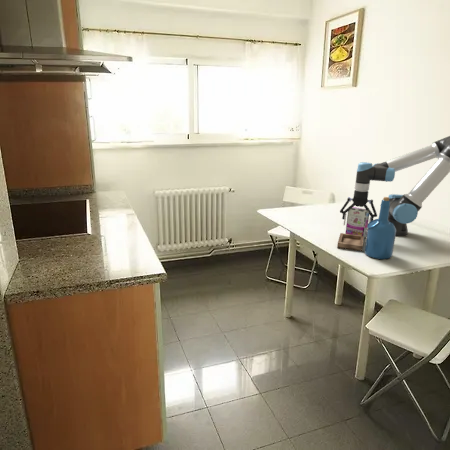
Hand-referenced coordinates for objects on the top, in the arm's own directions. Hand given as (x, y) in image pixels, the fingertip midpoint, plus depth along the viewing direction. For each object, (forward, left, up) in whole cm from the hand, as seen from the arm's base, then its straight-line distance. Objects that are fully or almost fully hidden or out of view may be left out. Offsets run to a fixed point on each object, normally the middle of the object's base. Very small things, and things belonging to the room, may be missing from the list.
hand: (356, 226), depth 221 cm
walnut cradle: (+2, +17, -6) cm, 18 cm away
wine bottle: (-12, +28, -6) cm, 31 cm away
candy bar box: (0, 0, -6) cm, 6 cm away
